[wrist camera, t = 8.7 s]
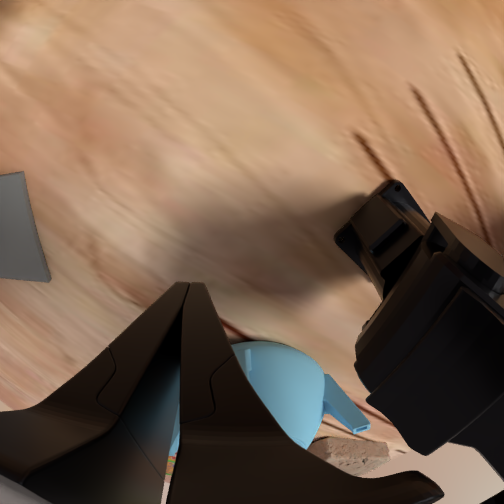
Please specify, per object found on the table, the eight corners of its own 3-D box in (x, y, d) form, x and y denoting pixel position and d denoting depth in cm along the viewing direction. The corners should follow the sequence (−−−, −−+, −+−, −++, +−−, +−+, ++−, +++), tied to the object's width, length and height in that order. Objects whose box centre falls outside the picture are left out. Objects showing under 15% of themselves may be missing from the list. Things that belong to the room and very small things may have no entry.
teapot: (359, 356, 29) (388, 446, 20) (276, 421, 36) (282, 495, 26) (227, 301, 25) (222, 419, 16) (163, 387, 31) (149, 472, 22)
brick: (389, 440, 44) (394, 461, 40) (356, 458, 47) (360, 478, 43) (324, 431, 39) (329, 458, 35) (289, 451, 43) (292, 475, 39)
